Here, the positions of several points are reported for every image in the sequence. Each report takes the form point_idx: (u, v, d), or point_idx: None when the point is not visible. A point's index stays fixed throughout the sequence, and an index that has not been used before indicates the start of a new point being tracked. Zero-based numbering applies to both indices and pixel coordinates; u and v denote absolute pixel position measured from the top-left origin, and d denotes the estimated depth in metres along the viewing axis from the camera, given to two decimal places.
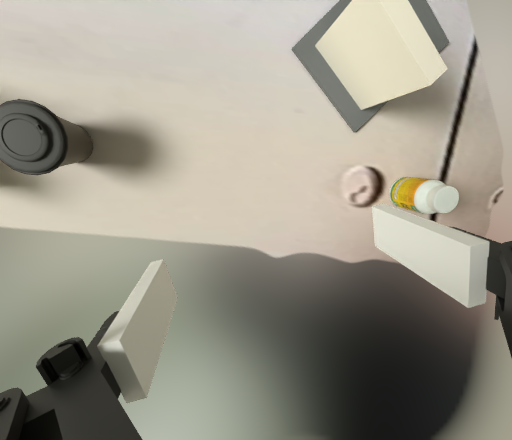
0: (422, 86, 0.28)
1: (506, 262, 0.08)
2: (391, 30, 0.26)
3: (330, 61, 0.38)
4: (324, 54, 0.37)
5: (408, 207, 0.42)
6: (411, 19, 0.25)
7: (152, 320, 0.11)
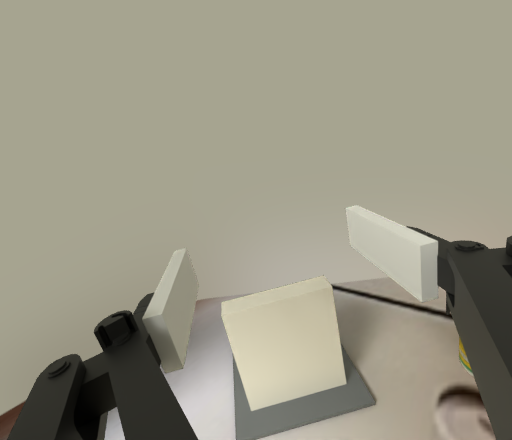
0: (331, 295, 0.27)
1: (453, 261, 0.09)
2: (268, 308, 0.27)
3: (274, 398, 0.30)
4: (265, 402, 0.30)
5: None
6: (269, 292, 0.28)
7: (182, 301, 0.12)
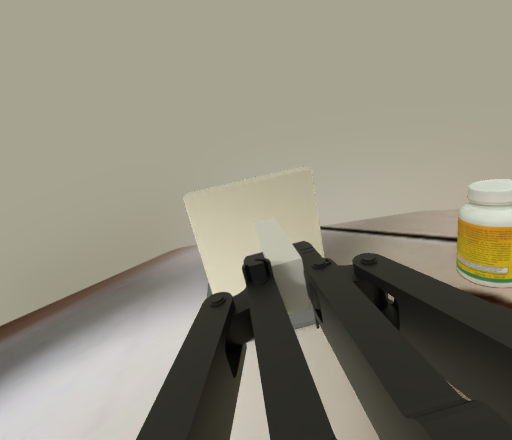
0: (311, 179, 0.24)
1: (314, 281, 0.10)
2: (238, 192, 0.23)
3: None
4: None
5: None
6: (241, 181, 0.25)
7: None
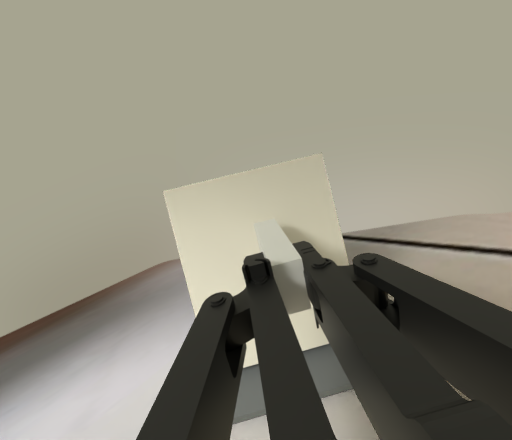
0: (323, 167, 0.19)
1: (314, 281, 0.10)
2: (232, 183, 0.18)
3: (249, 353, 0.19)
4: None
5: None
6: None
7: None
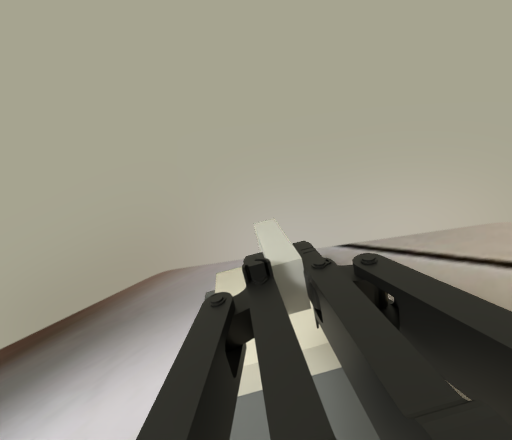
0: None
1: (314, 281, 0.10)
2: None
3: (254, 352, 0.18)
4: None
5: None
6: None
7: None
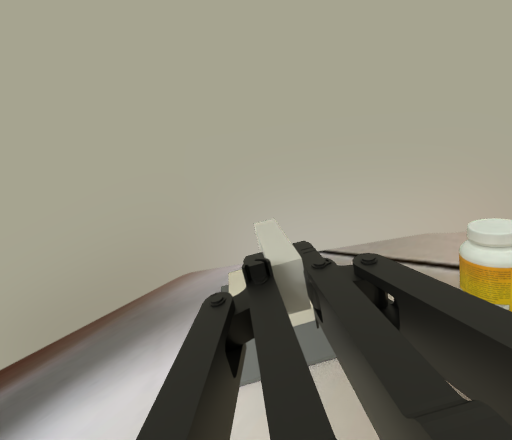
0: None
1: (314, 281, 0.10)
2: None
3: None
4: None
5: None
6: None
7: None
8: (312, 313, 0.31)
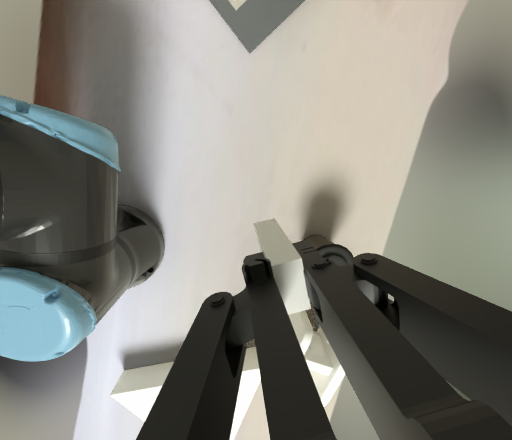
0: None
1: (314, 281, 0.10)
2: None
3: None
4: None
5: None
6: None
7: None
8: None
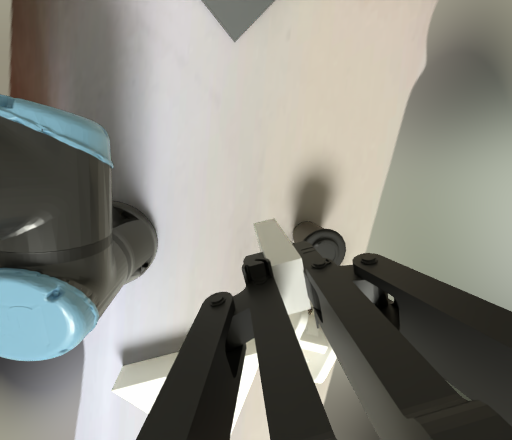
0: None
1: (314, 281, 0.10)
2: None
3: None
4: None
5: None
6: None
7: None
8: None
